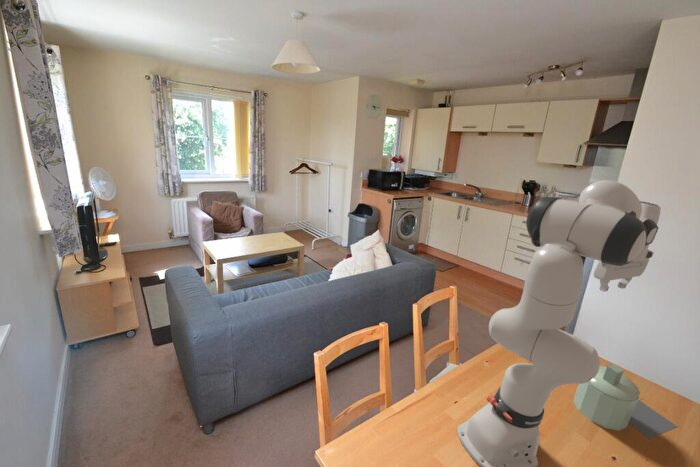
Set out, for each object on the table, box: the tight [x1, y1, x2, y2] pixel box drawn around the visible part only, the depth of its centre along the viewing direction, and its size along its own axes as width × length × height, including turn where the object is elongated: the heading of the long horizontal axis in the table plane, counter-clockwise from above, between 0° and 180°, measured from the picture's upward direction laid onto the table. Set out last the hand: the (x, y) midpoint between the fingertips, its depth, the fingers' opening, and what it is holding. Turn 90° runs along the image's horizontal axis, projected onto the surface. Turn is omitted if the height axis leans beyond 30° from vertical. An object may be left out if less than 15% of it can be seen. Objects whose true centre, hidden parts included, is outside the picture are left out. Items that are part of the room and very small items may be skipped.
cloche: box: [573, 363, 641, 432], centre depth 103 cm, size 14×14×18 cm
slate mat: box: [628, 399, 678, 440], centre depth 106 cm, size 15×15×1 cm
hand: (612, 289), depth 106 cm, fingers open, 8 cm apart
